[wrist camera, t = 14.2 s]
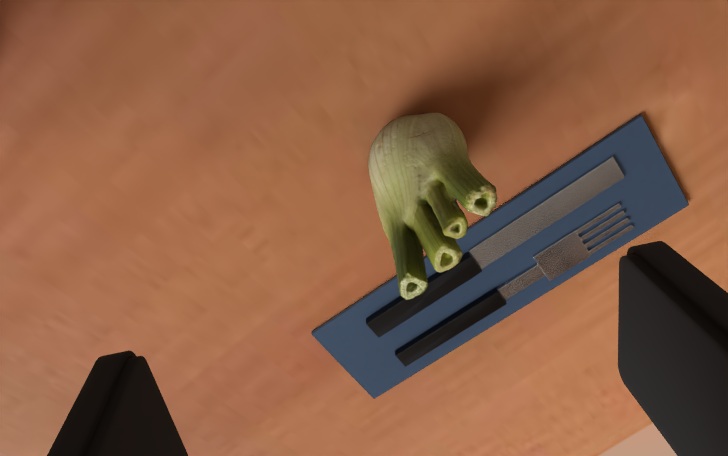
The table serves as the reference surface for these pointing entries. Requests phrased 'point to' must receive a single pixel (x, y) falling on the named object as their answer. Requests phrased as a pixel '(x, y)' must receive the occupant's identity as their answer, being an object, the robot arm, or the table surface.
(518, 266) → the napkin
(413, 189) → the fennel bulb
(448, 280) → the cutlery
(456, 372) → the table surface
